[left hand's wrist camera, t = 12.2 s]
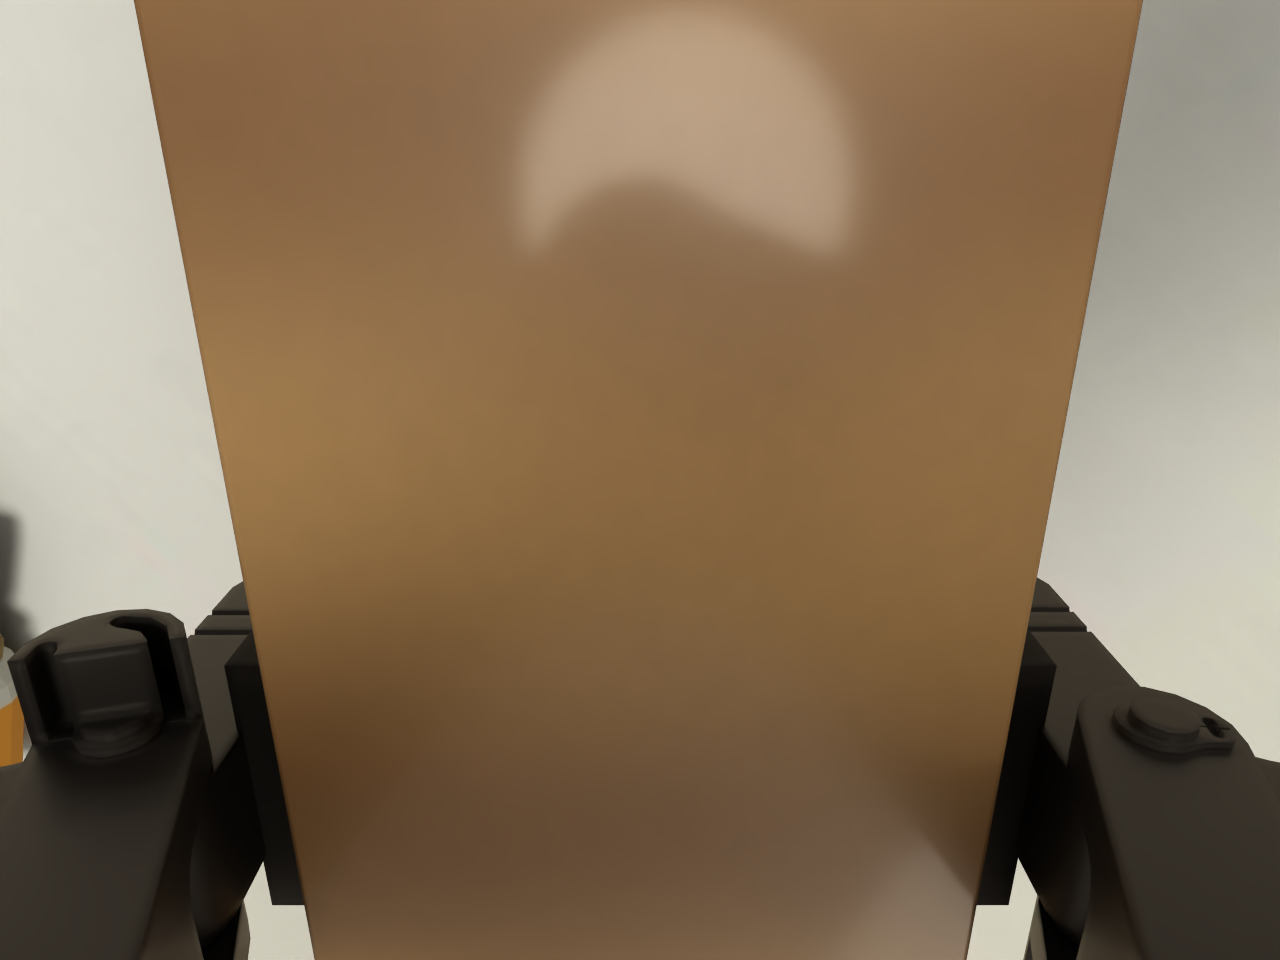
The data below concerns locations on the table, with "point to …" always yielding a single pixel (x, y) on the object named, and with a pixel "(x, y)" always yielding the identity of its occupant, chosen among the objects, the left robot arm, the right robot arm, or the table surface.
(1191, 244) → the table surface
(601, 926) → the post
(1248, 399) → the table surface
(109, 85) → the table surface
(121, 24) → the table surface
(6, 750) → the spray gun
